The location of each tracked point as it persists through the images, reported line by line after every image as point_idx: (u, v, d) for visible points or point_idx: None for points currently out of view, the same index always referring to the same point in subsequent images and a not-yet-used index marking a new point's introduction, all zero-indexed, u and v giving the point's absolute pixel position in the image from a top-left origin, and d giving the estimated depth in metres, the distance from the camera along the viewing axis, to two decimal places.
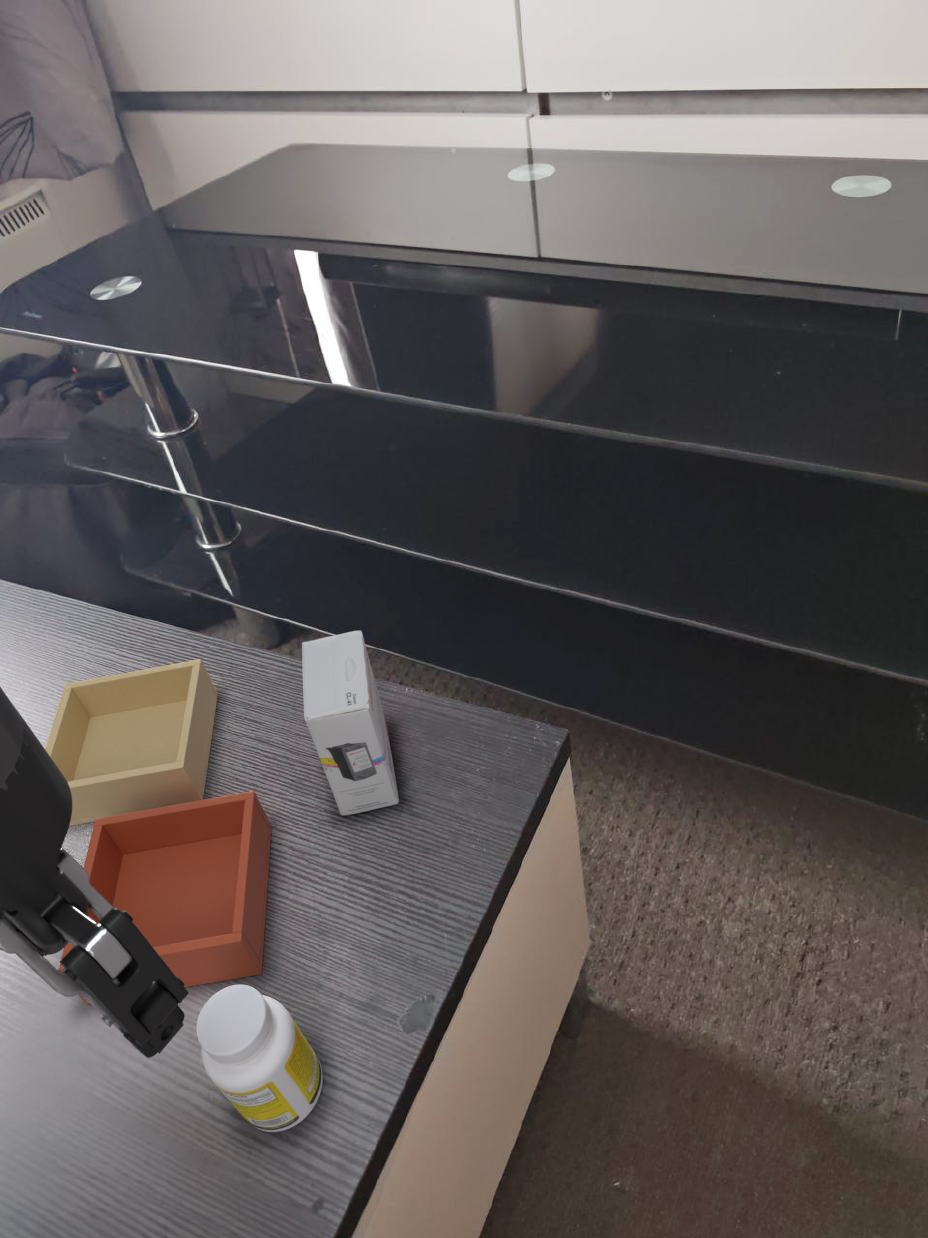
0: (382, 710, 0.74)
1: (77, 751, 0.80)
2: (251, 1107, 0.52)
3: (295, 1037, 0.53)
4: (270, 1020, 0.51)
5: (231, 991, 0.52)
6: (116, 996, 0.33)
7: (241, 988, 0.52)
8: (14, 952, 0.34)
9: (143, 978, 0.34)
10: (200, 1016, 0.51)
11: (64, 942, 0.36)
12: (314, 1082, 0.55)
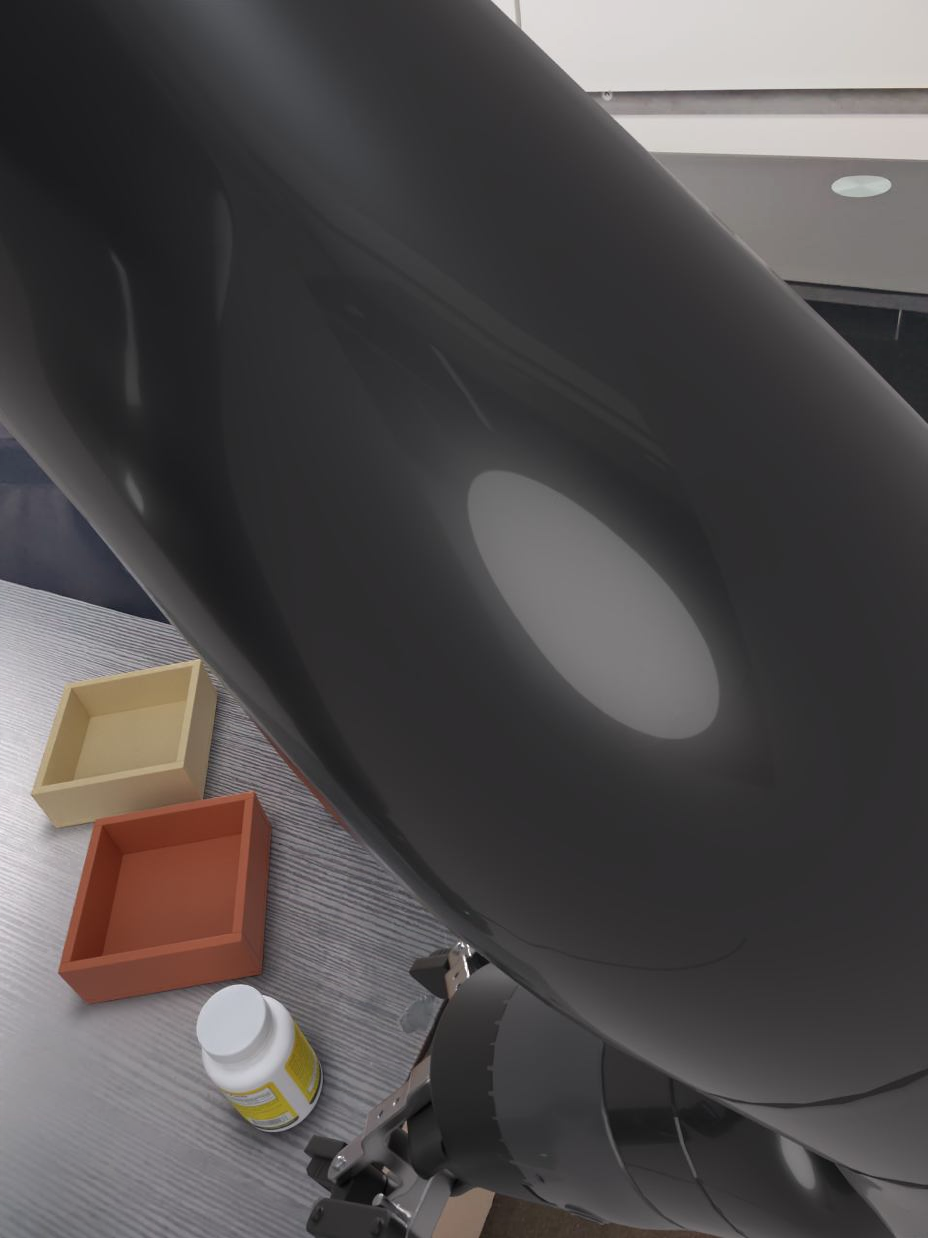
0: None
1: (77, 751, 0.80)
2: (251, 1107, 0.52)
3: (295, 1037, 0.53)
4: (270, 1020, 0.51)
5: (231, 991, 0.52)
6: None
7: (241, 988, 0.52)
8: (407, 1102, 0.33)
9: None
10: (200, 1016, 0.51)
11: None
12: (314, 1082, 0.55)
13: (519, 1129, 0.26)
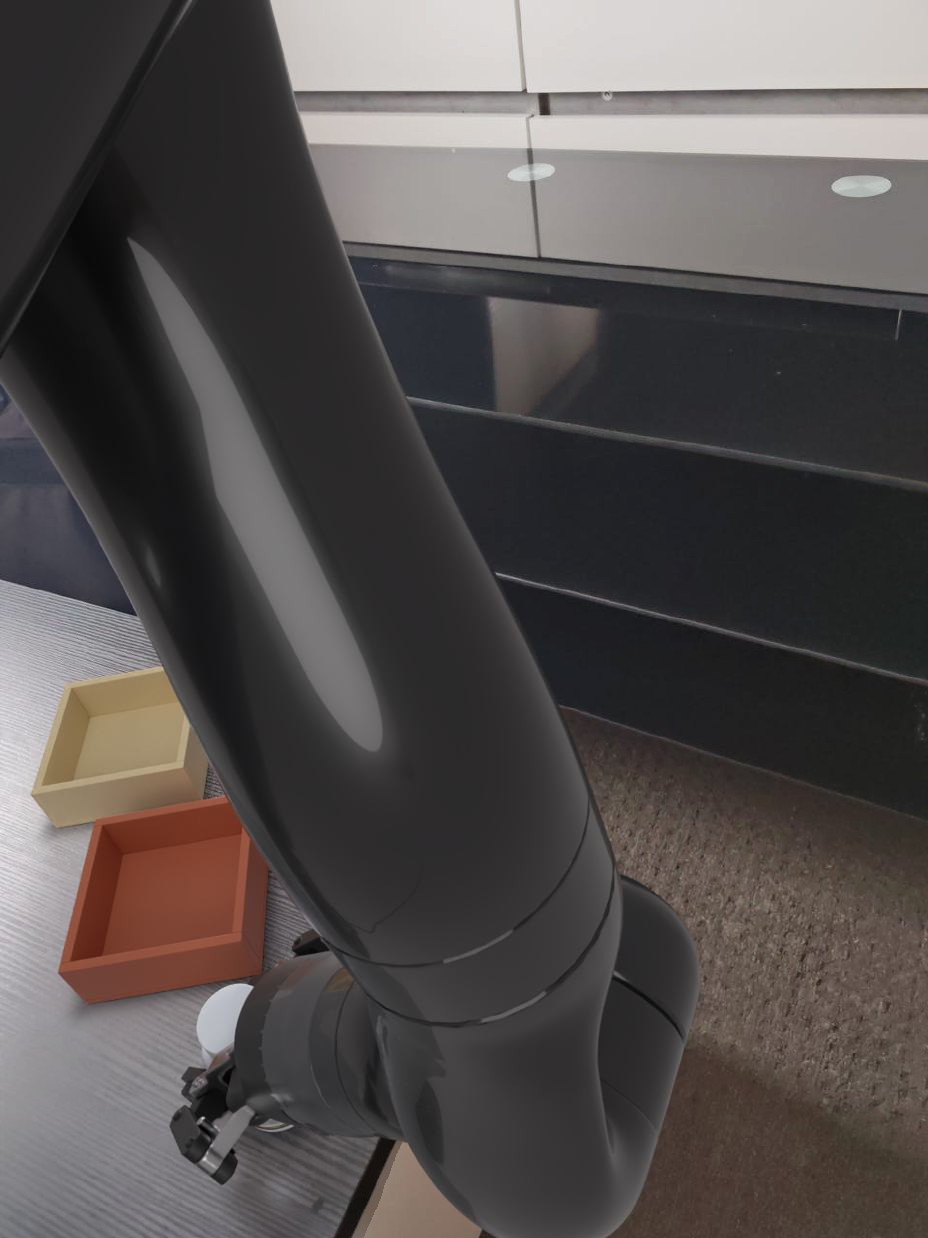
0: None
1: (77, 751, 0.80)
2: None
3: None
4: None
5: (231, 990, 0.52)
6: None
7: (241, 987, 0.52)
8: (229, 1057, 0.46)
9: None
10: (200, 1015, 0.51)
11: None
12: None
13: (272, 1071, 0.38)
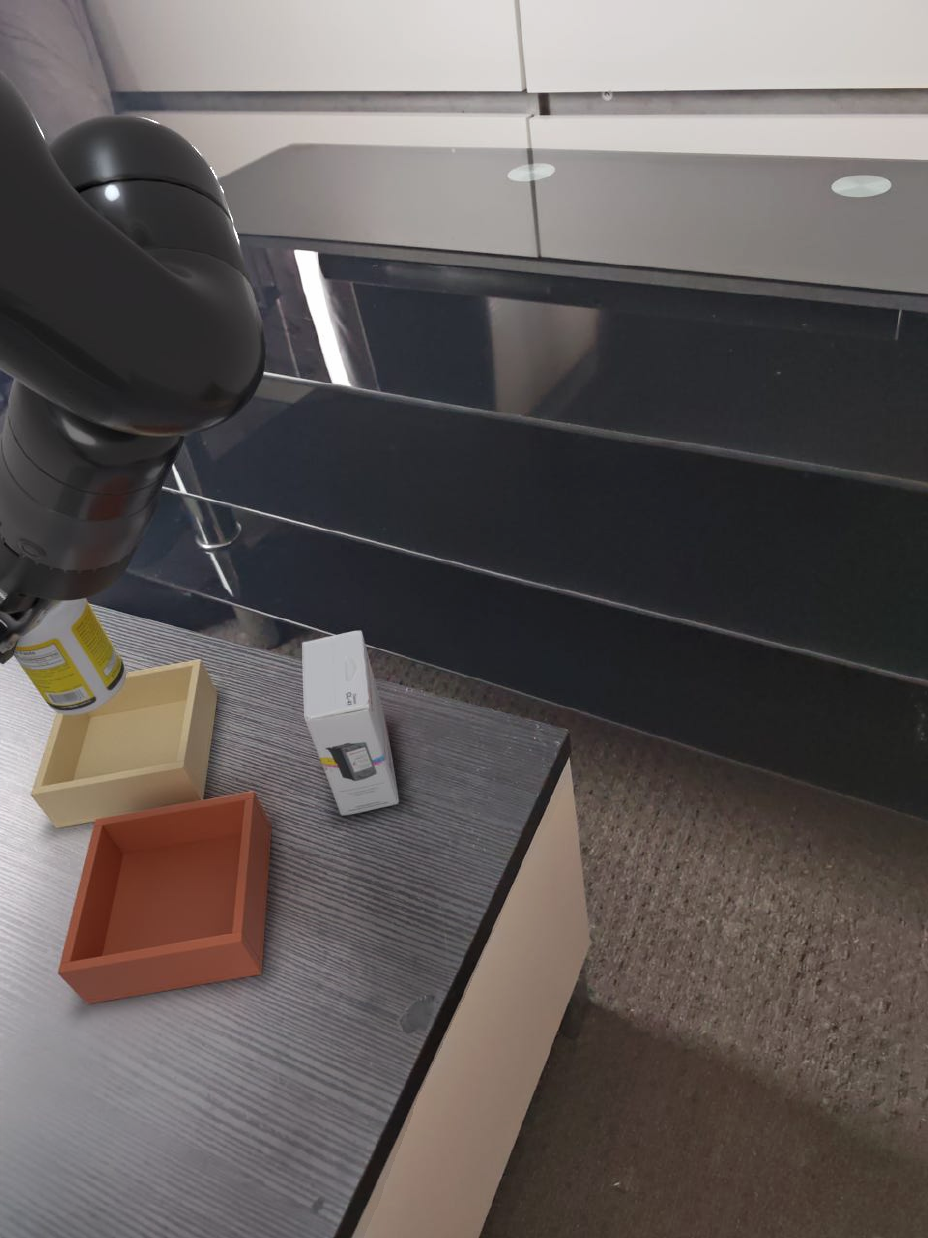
0: (382, 710, 0.74)
1: (77, 751, 0.80)
2: (42, 670, 0.56)
3: (85, 609, 0.57)
4: None
5: None
6: None
7: None
8: None
9: None
10: None
11: None
12: (112, 669, 0.59)
13: None
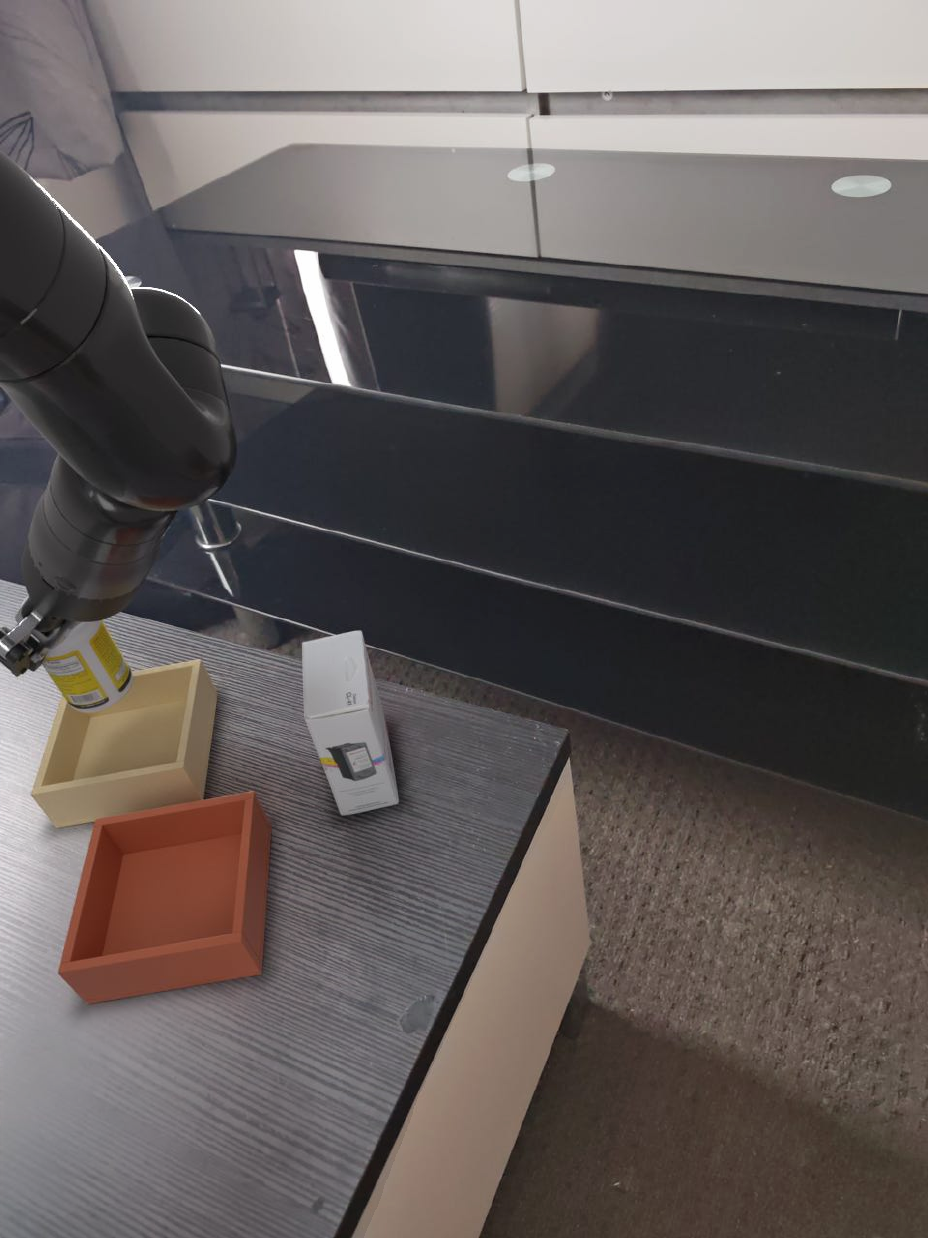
0: (382, 710, 0.74)
1: (77, 751, 0.80)
2: (65, 676, 0.69)
3: (100, 626, 0.70)
4: None
5: None
6: None
7: None
8: None
9: (4, 662, 0.62)
10: (24, 600, 0.68)
11: None
12: (122, 675, 0.72)
13: (31, 542, 0.55)
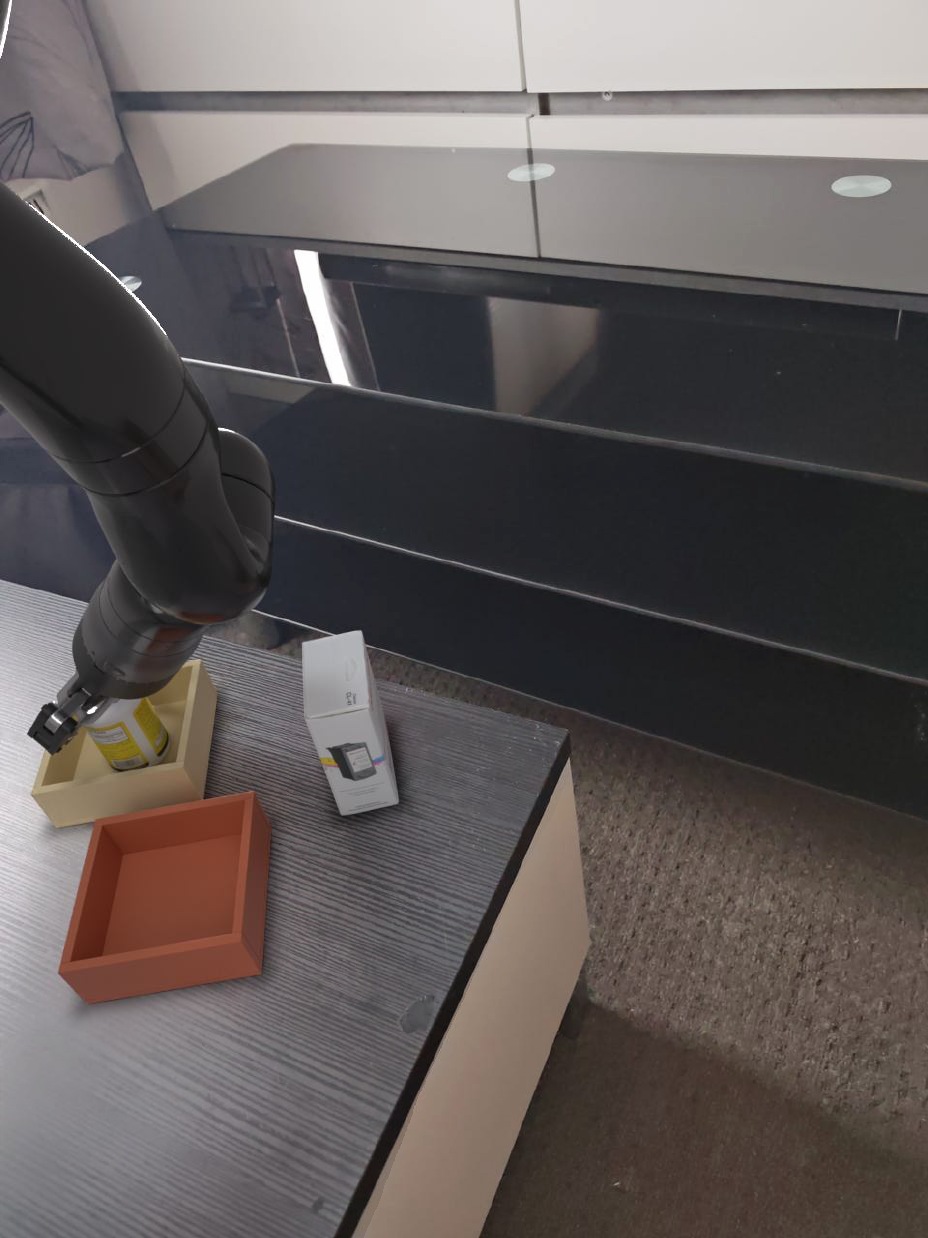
0: (382, 710, 0.74)
1: (77, 751, 0.80)
2: (110, 744, 0.75)
3: (142, 698, 0.75)
4: None
5: None
6: (39, 726, 0.65)
7: None
8: (76, 671, 0.67)
9: (49, 737, 0.66)
10: (72, 675, 0.73)
11: None
12: (161, 740, 0.78)
13: (85, 632, 0.60)
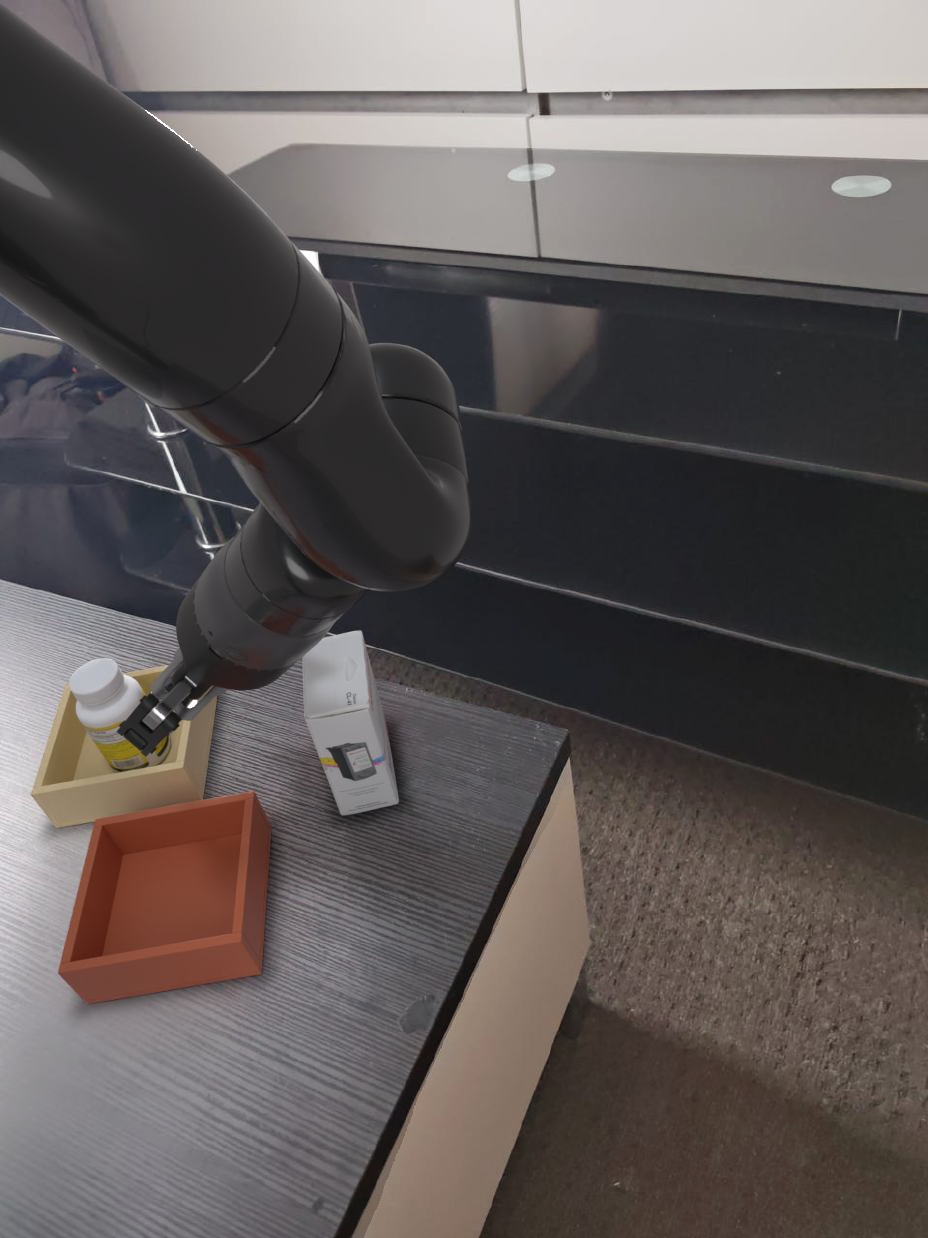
0: (382, 710, 0.74)
1: (77, 751, 0.80)
2: (110, 744, 0.75)
3: None
4: (121, 678, 0.74)
5: (95, 661, 0.74)
6: (134, 721, 0.55)
7: (103, 659, 0.74)
8: (175, 657, 0.57)
9: (146, 735, 0.56)
10: (72, 675, 0.73)
11: None
12: None
13: (201, 608, 0.50)
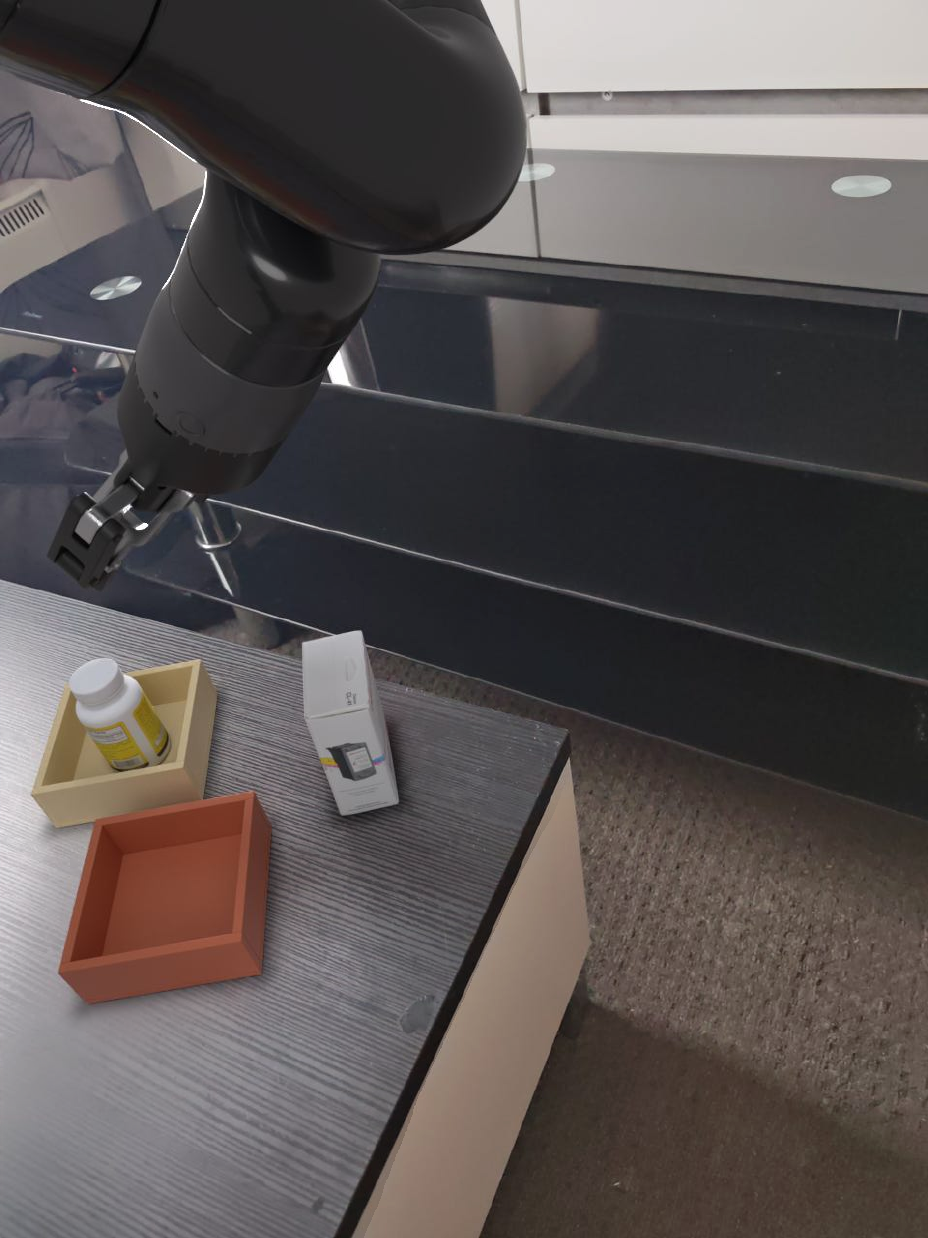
0: (382, 710, 0.74)
1: (77, 751, 0.80)
2: (110, 744, 0.75)
3: (142, 698, 0.75)
4: (121, 678, 0.74)
5: (95, 661, 0.74)
6: (66, 534, 0.43)
7: (103, 659, 0.74)
8: (120, 462, 0.45)
9: (81, 554, 0.44)
10: (72, 675, 0.73)
11: None
12: (160, 740, 0.78)
13: (142, 362, 0.38)
